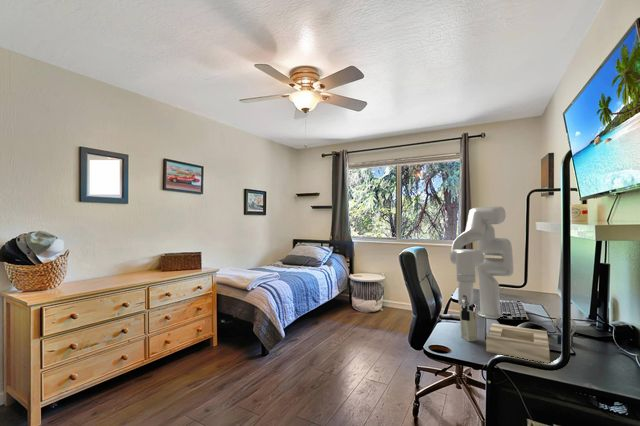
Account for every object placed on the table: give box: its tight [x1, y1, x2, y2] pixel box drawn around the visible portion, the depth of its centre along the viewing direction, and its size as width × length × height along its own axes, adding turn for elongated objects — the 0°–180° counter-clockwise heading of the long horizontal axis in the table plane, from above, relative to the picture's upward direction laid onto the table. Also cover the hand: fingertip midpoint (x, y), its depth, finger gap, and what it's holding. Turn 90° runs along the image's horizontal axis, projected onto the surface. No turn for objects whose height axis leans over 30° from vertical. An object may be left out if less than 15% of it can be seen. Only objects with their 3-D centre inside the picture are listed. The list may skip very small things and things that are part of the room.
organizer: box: [485, 323, 551, 364], centre depth 122 cm, size 22×20×5 cm
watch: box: [551, 315, 578, 347], centre depth 125 cm, size 6×8×11 cm
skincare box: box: [459, 309, 478, 342], centre depth 132 cm, size 6×4×12 cm
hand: (467, 317), depth 132 cm, fingers open, 9 cm apart
